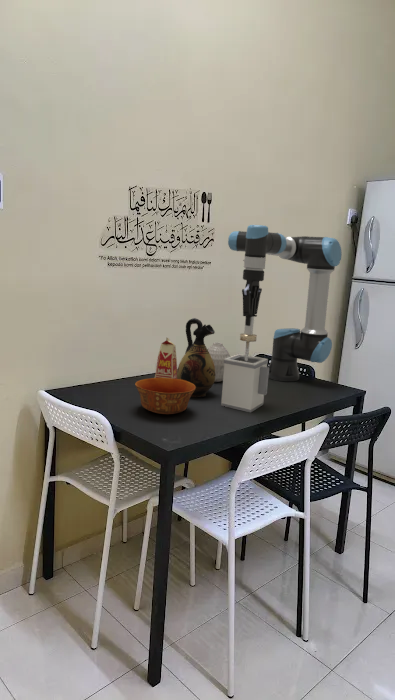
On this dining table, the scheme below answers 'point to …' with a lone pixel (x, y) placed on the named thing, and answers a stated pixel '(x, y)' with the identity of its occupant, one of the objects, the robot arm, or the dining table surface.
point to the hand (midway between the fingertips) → (248, 334)
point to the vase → (218, 359)
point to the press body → (244, 382)
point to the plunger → (247, 342)
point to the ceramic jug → (197, 360)
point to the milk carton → (167, 361)
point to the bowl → (165, 394)
